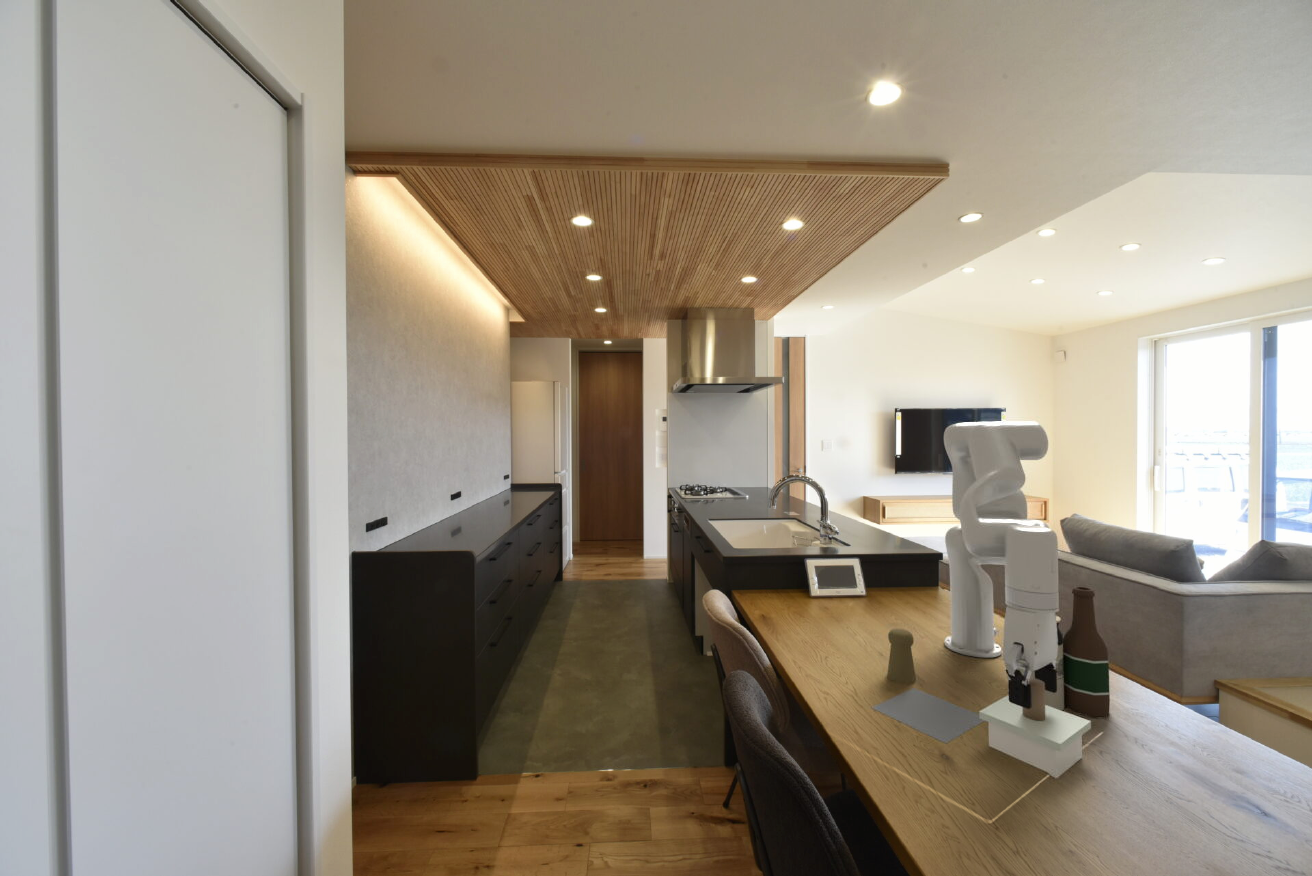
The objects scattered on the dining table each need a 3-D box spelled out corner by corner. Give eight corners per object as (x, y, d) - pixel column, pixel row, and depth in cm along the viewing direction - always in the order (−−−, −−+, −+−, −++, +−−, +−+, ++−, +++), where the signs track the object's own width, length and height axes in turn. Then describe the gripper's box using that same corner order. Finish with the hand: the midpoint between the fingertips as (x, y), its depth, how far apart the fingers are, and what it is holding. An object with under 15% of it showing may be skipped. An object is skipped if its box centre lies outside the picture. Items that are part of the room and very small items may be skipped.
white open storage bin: (1015, 730, 97) (1015, 703, 97) (1082, 757, 88) (1081, 727, 88) (988, 747, 91) (988, 719, 91) (1056, 778, 83) (1055, 746, 83)
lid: (1011, 699, 98) (1011, 660, 98) (1090, 728, 88) (1090, 685, 88) (979, 718, 92) (978, 677, 92) (1060, 751, 82) (1059, 705, 82)
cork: (919, 686, 114) (918, 636, 114) (890, 684, 116) (889, 634, 116) (912, 674, 120) (911, 626, 120) (884, 672, 121) (883, 625, 122)
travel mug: (1007, 698, 108) (1005, 612, 109) (1031, 691, 112) (1029, 606, 112) (1048, 716, 101) (1046, 623, 101) (1073, 708, 104) (1071, 618, 104)
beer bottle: (1100, 702, 106) (1097, 584, 107) (1120, 721, 99) (1117, 595, 99) (1054, 696, 109) (1052, 581, 109) (1070, 715, 101) (1067, 592, 102)
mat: (914, 689, 113) (914, 687, 113) (988, 720, 100) (988, 718, 100) (871, 709, 105) (870, 707, 105) (946, 745, 92) (945, 743, 92)
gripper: (1029, 585, 98) (1031, 676, 98) (982, 601, 89) (984, 702, 88) (1078, 594, 91) (1080, 692, 91) (1033, 613, 82) (1035, 722, 82)
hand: (1033, 697), depth 90 cm, fingers open, 9 cm apart
